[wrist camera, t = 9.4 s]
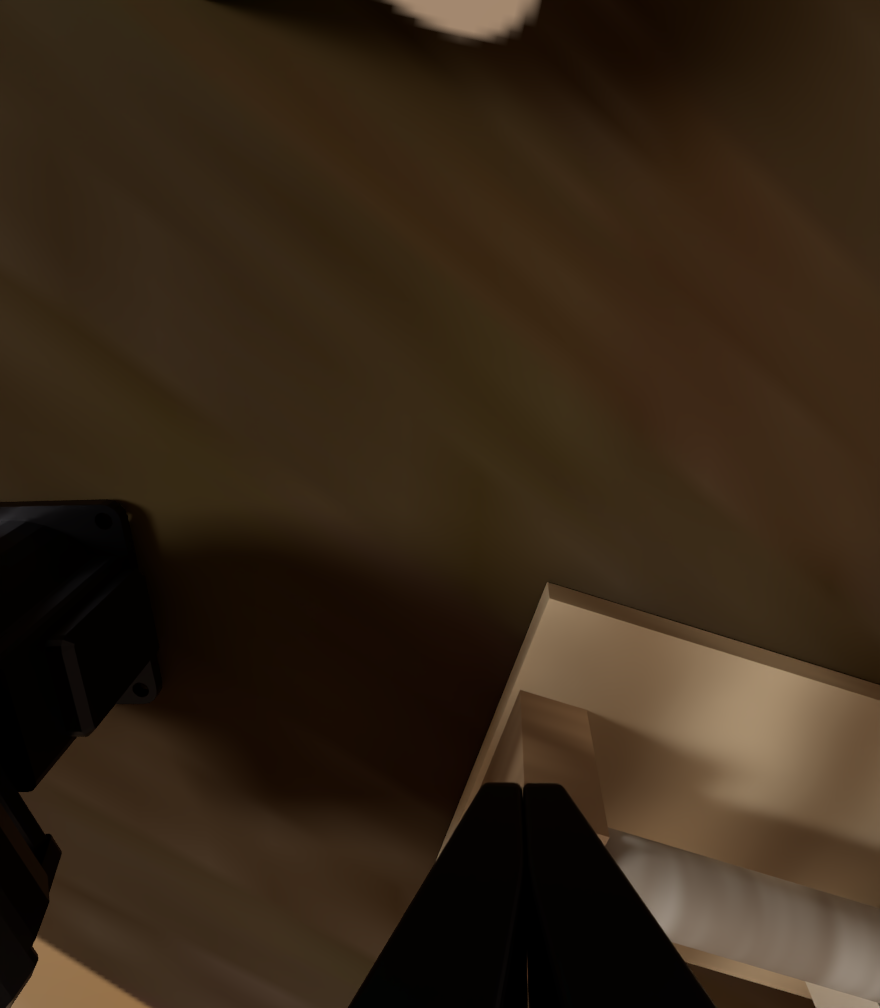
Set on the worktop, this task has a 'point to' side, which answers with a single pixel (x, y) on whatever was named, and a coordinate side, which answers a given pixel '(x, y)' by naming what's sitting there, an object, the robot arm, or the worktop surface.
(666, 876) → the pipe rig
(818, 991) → the sleeve
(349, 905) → the worktop surface
